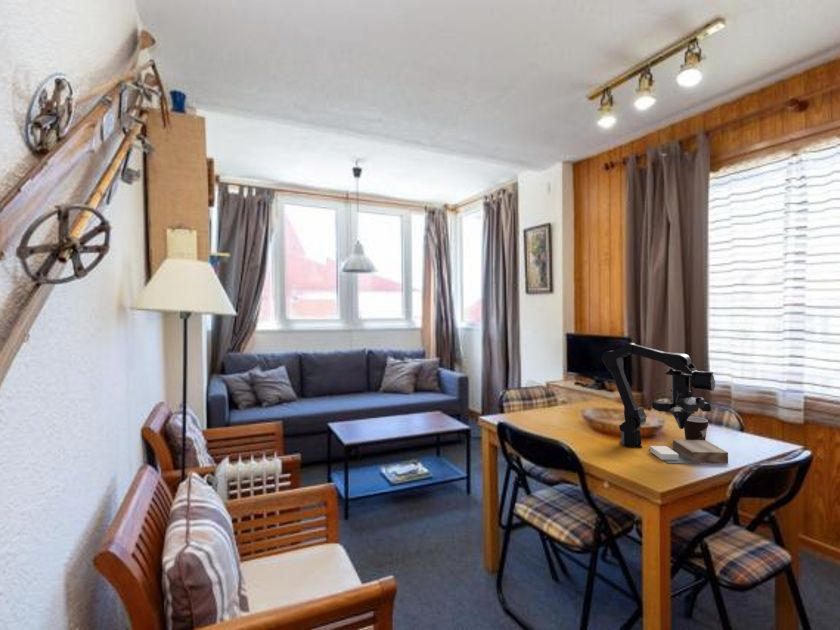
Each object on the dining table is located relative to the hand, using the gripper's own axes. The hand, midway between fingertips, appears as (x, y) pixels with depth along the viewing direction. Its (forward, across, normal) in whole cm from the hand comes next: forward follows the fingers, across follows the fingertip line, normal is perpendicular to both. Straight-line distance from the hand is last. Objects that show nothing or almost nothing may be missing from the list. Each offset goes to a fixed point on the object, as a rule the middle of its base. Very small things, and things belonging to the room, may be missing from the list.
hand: (681, 428), depth 158 cm
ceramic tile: (+8, -6, 0) cm, 10 cm away
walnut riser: (+10, +6, 0) cm, 12 cm away
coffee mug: (+11, +14, +15) cm, 23 cm away
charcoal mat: (+10, -3, 0) cm, 11 cm away
